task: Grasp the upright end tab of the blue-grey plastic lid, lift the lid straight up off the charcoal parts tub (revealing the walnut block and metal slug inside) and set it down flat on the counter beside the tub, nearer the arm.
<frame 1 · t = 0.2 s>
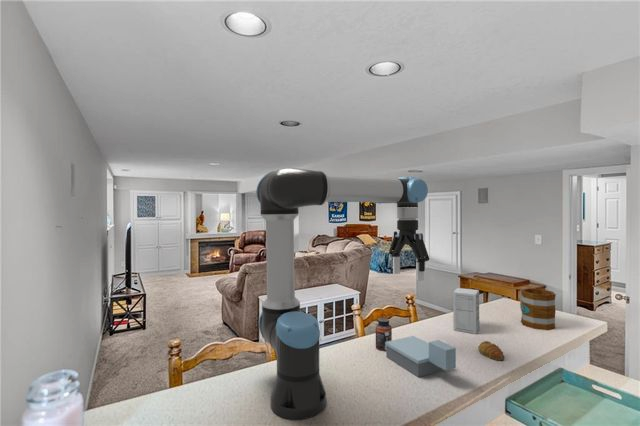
hand: (407, 276, 126), 28 cm above the counter, fingers open, 13 cm apart
supplement bottle: (383, 350, 128), on the counter
lid: (415, 350, 116), point 5 cm above the counter, touching tub
supplement box: (466, 329, 149), on the counter
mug: (533, 323, 157), on the counter
metal slug: (414, 357, 120), point 1 cm above the counter, touching tub
tub: (415, 364, 116), on the counter
pastry: (491, 355, 124), on the counter
walnut block: (416, 369, 112), point 1 cm above the counter, touching tub
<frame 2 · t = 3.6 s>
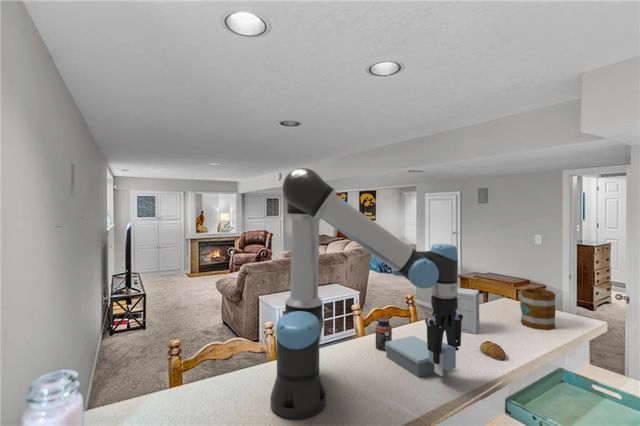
hand: (444, 371, 104), 3 cm above the counter, fingers closed on lid, 4 cm apart
lid: (415, 350, 116), point 5 cm above the counter, touching gripper, tub
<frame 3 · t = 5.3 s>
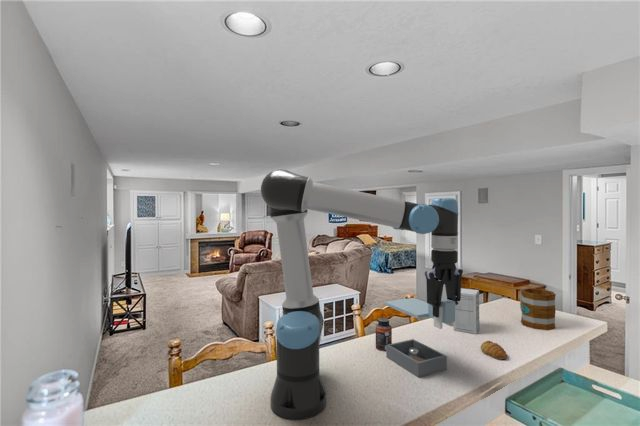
hand: (443, 326, 104), 17 cm above the counter, fingers closed on lid, 4 cm apart
lid: (414, 308, 115), point 19 cm above the counter, touching gripper
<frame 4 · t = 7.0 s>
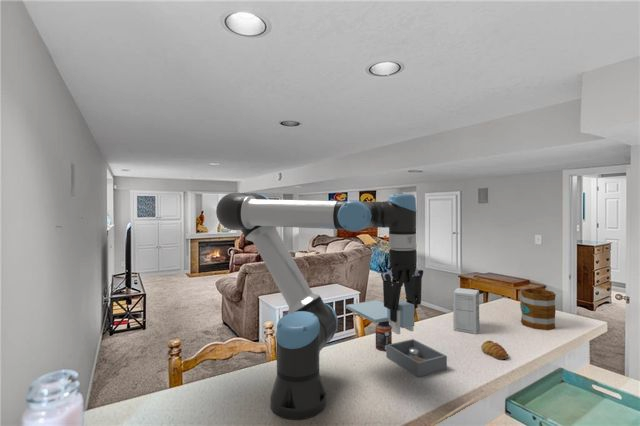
hand: (402, 331, 97), 18 cm above the counter, fingers closed on lid, 4 cm apart
lid: (376, 312, 108), point 20 cm above the counter, touching gripper
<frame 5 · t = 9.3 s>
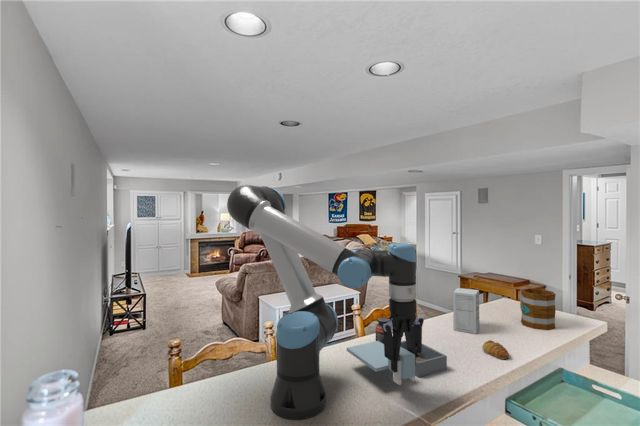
hand: (403, 380, 97), 4 cm above the counter, fingers closed on lid, 4 cm apart
lid: (377, 356, 109), point 6 cm above the counter, touching gripper
when the fingers open (0 cm above the counter, at t = 10.9 s): lid drops 2 cm, on the counter.
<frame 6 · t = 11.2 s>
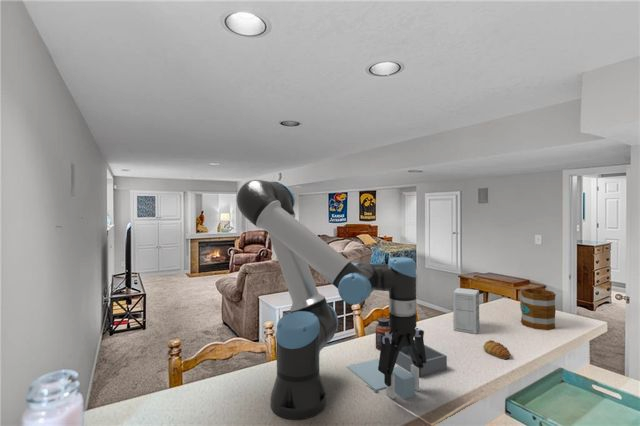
hand: (402, 392, 97), 1 cm above the counter, fingers open, 8 cm apart
lid: (376, 375, 109), on the counter
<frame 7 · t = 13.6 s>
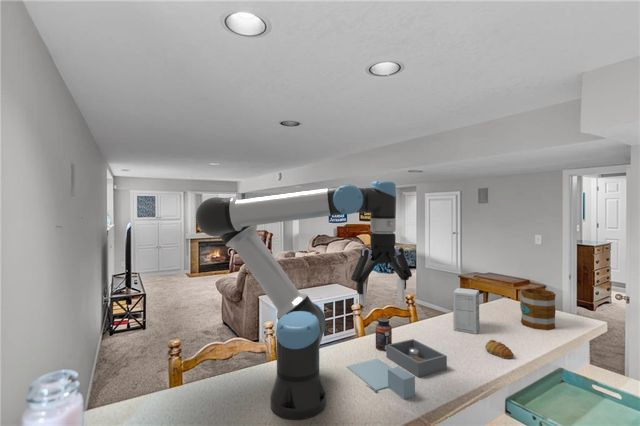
hand: (382, 302, 104), 24 cm above the counter, fingers open, 13 cm apart
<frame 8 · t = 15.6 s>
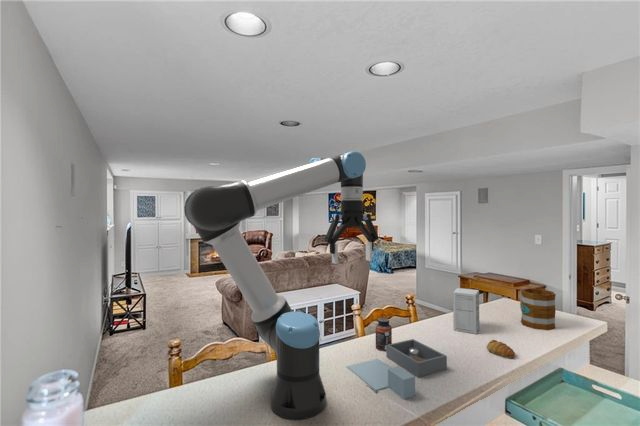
hand: (352, 262, 117), 35 cm above the counter, fingers open, 13 cm apart
at the end: lid inside the target area (0.2 cm from its centre), on the counter; lid touching counter; lid tilted 0° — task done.
